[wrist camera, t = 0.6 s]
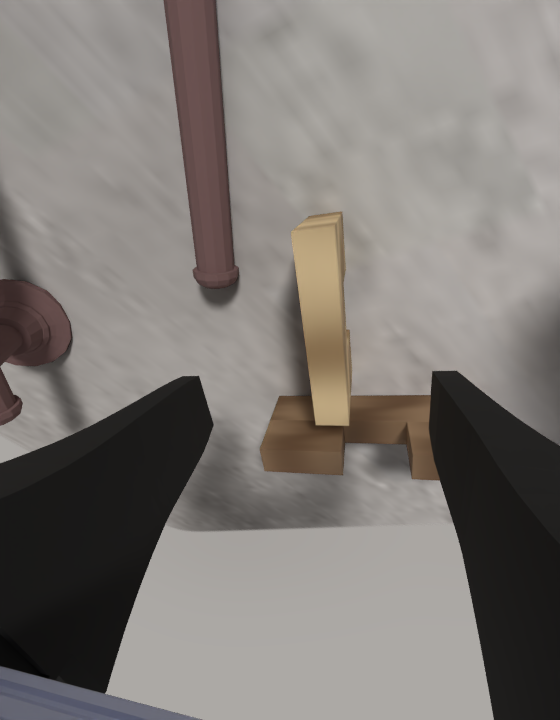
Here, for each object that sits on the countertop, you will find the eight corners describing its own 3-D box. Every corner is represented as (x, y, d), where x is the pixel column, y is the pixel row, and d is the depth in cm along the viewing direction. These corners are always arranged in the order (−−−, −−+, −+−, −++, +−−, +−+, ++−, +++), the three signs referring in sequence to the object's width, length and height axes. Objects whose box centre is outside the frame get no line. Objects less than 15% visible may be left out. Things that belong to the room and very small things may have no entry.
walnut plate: (482, 395, 19) (515, 458, 15) (478, 417, 20) (510, 484, 16) (279, 396, 22) (259, 449, 18) (282, 415, 23) (264, 471, 19)
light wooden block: (309, 216, 17) (290, 232, 12) (342, 211, 16) (334, 226, 12) (325, 372, 21) (315, 425, 17) (351, 372, 20) (348, 425, 16)
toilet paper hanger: (248, 401, 21) (-73, 442, 18) (237, 350, 27) (-7, 374, 24) (183, -667, 7) (-1249, -1275, 4) (189, -291, 13) (-402, -429, 10)
